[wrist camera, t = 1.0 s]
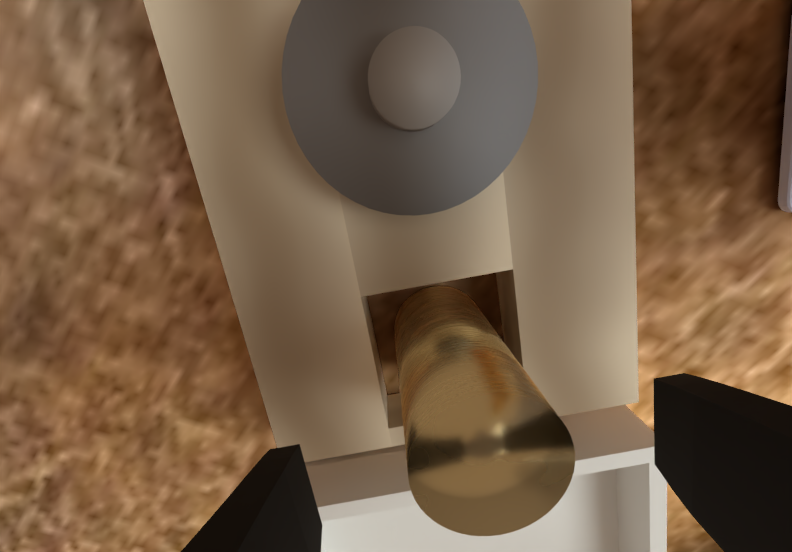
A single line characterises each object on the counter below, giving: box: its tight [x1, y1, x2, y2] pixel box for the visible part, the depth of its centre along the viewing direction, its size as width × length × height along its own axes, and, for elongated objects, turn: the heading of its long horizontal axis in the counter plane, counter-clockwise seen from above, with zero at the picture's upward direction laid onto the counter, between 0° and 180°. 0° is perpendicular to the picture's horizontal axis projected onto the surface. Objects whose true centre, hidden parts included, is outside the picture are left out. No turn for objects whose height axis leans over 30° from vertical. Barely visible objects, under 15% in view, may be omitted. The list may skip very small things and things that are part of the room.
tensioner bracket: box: [143, 0, 639, 462], centre depth 11 cm, size 12×14×4 cm
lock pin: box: [394, 286, 575, 536], centre depth 11 cm, size 3×3×7 cm
